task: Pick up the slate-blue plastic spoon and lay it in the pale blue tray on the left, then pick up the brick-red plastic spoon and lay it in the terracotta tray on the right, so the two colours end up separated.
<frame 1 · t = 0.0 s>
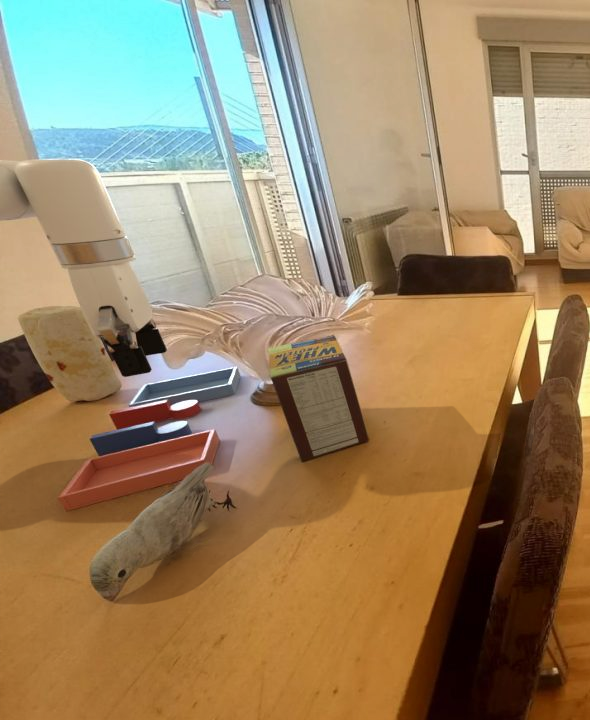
hand: (146, 363, 74), 16 cm above the table, tool pointing down, fingers open, 9 cm apart
decorative bird: (175, 550, 60), on the table
red tray: (151, 472, 75), on the table
blue spoon: (146, 443, 83), on the table
blue tray: (191, 394, 101), on the table
red spoon: (160, 419, 91), on the table
food model: (94, 398, 102), on the table
protein box: (331, 433, 85), on the table
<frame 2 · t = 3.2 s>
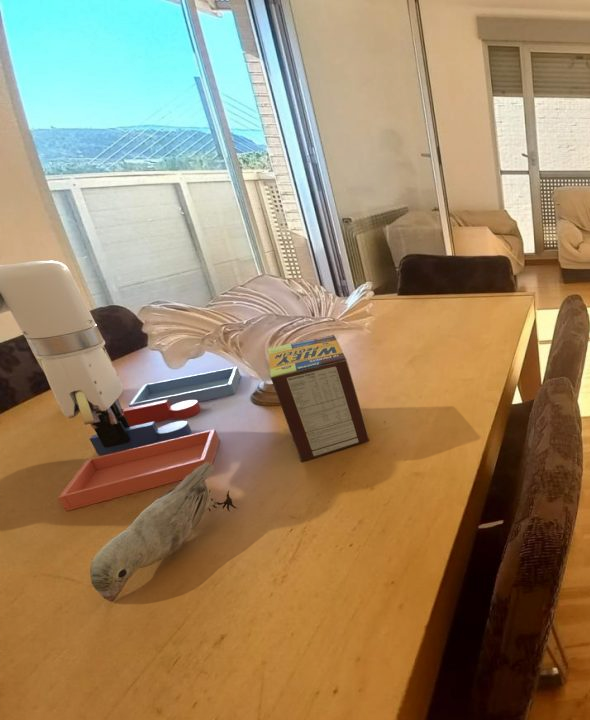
hand: (119, 440, 81), 2 cm above the table, tool pointing down, fingers closed on blue spoon
blue spoon: (146, 443, 83), on the table, touching gripper
everything else where it was.
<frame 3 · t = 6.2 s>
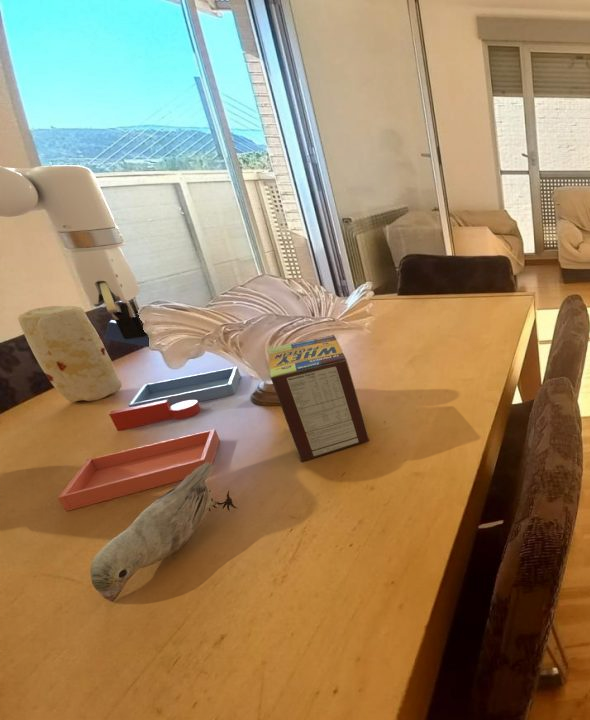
hand: (137, 335, 92), 15 cm above the table, tool pointing down, fingers closed on blue spoon
blue spoon: (148, 345, 93), point 13 cm above the table, tilted 28°, touching gripper
everything else where it was.
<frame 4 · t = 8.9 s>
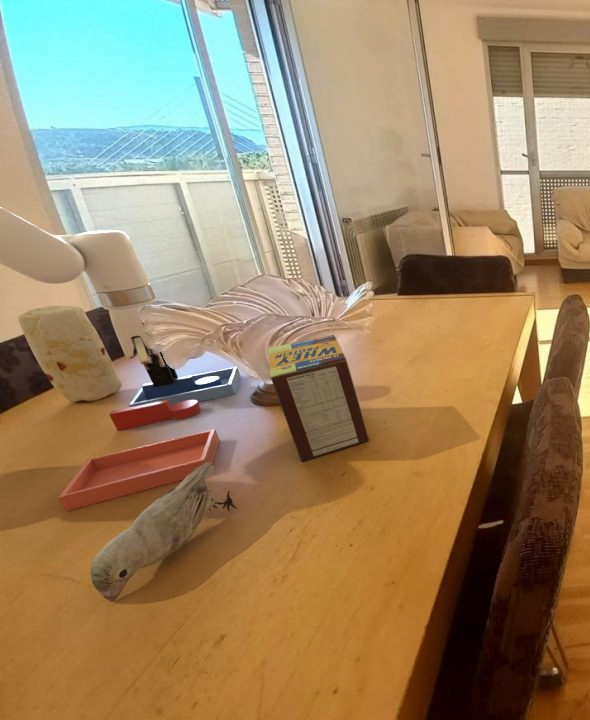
hand: (166, 381, 99), 4 cm above the table, tool pointing down, fingers closed
blue spoon: (186, 393, 101), resting on blue tray
everything else where it was.
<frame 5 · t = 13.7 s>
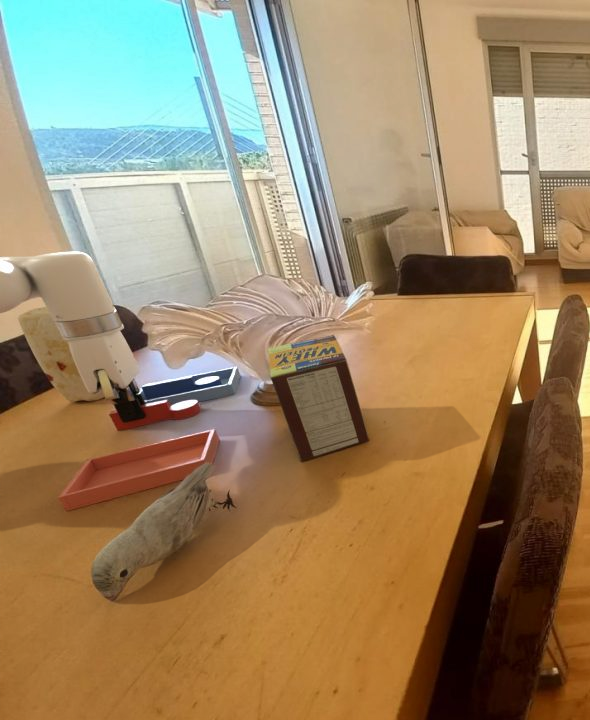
hand: (136, 416, 89), 2 cm above the table, tool pointing down, fingers closed on red spoon
red spoon: (160, 419, 91), on the table, touching gripper
everything else where it was.
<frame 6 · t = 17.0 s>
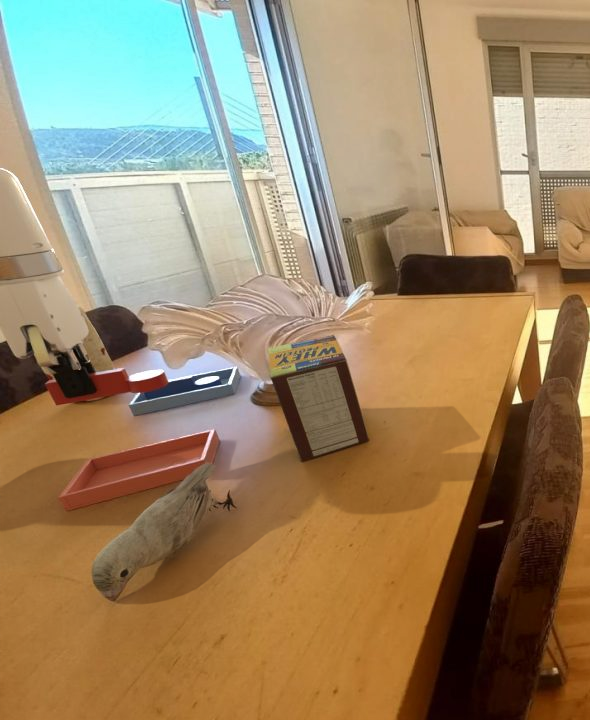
hand: (84, 391, 70), 15 cm above the table, tool pointing down, fingers closed on red spoon
red spoon: (114, 393, 71), point 13 cm above the table, touching gripper
everything else where it was.
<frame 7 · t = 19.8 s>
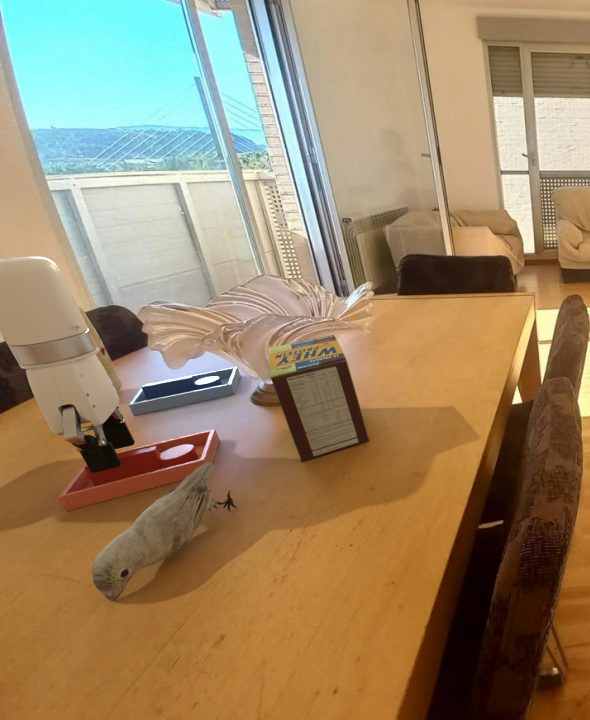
hand: (114, 456, 72), 4 cm above the table, tool pointing down, fingers open, 6 cm apart
red spoon: (148, 470, 75), resting on red tray
everything else where it was.
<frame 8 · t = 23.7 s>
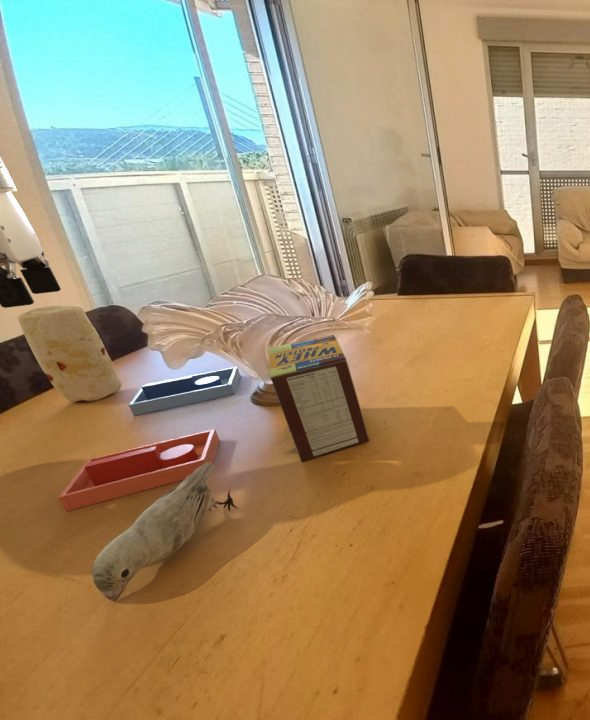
hand: (33, 298, 74), 26 cm above the table, tool pointing down, fingers open, 9 cm apart
nothing on the table moved.
at the end: blue spoon inside the target area in the blue tray (0.8 cm from its centre), point 0.4 cm above the blue tray's base; red spoon inside the target area in the red tray (0.3 cm from its centre), point 0.4 cm above the red tray's base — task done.
